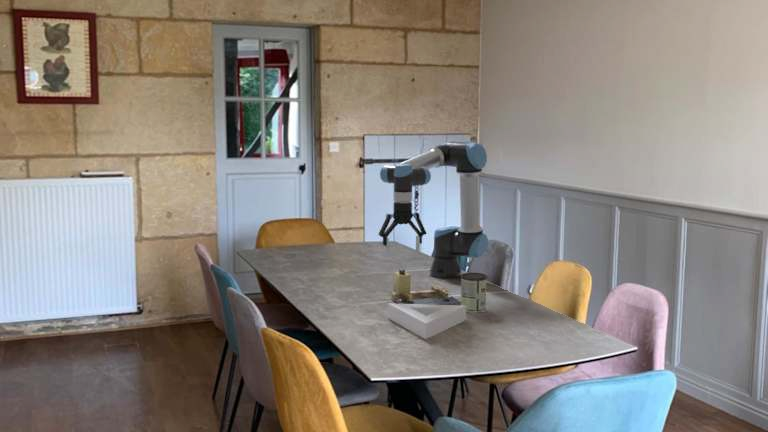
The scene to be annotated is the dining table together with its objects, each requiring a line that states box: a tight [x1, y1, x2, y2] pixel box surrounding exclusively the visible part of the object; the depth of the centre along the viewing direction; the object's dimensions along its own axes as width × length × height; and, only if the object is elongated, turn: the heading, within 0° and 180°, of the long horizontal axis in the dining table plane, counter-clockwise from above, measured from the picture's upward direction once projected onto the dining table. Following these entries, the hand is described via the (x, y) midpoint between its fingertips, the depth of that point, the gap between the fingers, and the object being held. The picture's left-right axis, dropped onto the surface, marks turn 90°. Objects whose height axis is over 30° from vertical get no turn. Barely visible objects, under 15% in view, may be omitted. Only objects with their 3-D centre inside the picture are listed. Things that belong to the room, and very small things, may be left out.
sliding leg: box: [392, 268, 412, 302], centre depth 325 cm, size 5×15×11 cm, turn 18°
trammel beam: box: [390, 285, 449, 302], centre depth 328 cm, size 24×14×4 cm, turn 107°
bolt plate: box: [395, 295, 461, 305], centre depth 322 cm, size 25×10×2 cm, turn 107°
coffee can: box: [460, 272, 488, 314], centre depth 315 cm, size 10×10×14 cm
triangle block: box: [387, 303, 467, 340], centre depth 295 cm, size 30×26×6 cm
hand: (402, 252), depth 327 cm, fingers open, 13 cm apart
